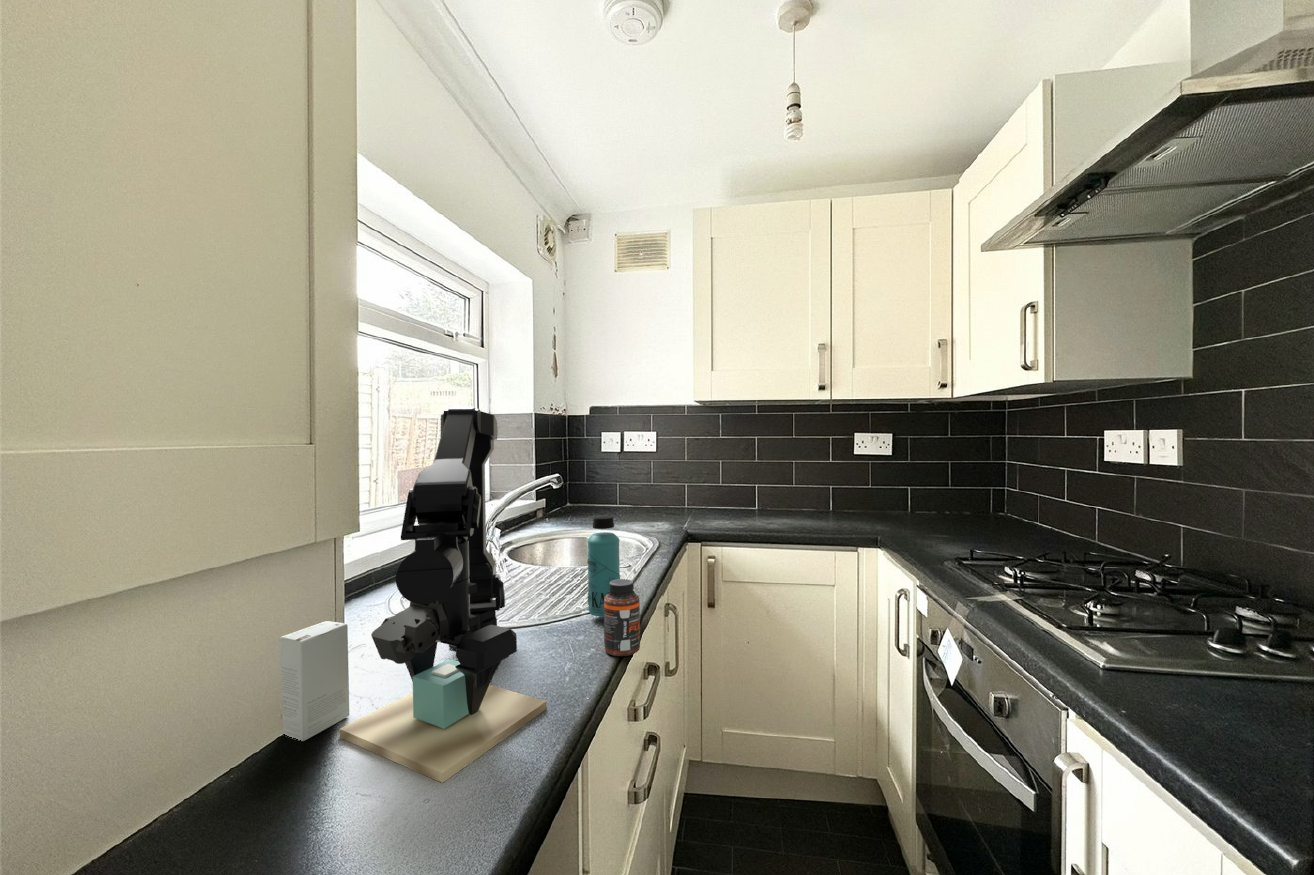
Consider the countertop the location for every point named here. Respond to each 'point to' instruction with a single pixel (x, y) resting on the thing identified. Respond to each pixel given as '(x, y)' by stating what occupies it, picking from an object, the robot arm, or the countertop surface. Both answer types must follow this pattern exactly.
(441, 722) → the teal cube with pad
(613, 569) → the beverage bottle
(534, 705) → the post board
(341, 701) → the skincare box
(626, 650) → the supplement bottle
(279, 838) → the countertop surface
